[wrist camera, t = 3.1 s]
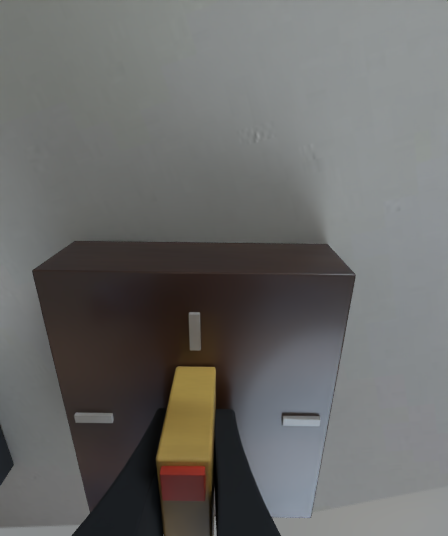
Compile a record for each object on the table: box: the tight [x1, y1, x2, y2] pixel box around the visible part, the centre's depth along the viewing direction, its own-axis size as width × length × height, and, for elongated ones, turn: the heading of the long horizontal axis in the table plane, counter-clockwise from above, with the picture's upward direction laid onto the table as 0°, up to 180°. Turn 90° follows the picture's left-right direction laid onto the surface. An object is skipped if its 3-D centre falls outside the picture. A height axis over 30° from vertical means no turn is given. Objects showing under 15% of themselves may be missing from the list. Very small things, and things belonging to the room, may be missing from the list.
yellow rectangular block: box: [156, 366, 216, 536], centre depth 10 cm, size 5×1×4 cm, turn 0°
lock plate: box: [32, 241, 356, 518], centre depth 13 cm, size 12×10×3 cm
